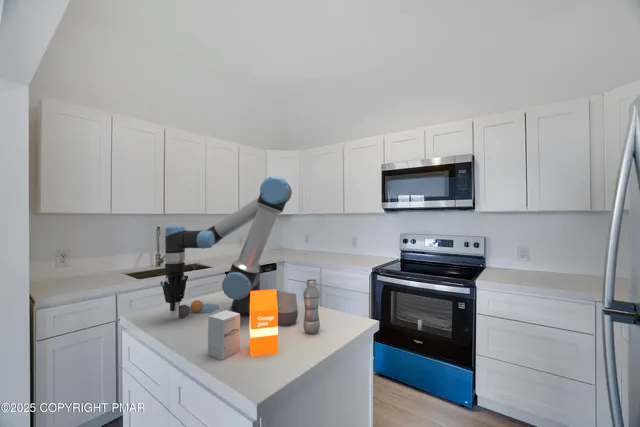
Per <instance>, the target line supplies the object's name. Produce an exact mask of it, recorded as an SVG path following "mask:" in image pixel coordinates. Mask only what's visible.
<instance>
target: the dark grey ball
mask: <svg viewBox="0 0 640 427" xmlns="http://www.w3.org/2000/svg"><path fill="white" fill-rule="evenodd" d="M189 314H191V313H190V306H189V305H188V304H181V305H180V308H179V317H178V318H183V319H184V318H186V317H187V316H189Z"/></svg>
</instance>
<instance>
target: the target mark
mask: <svg viewBox="0 0 640 427" xmlns="http://www.w3.org/2000/svg"><path fill="white" fill-rule="evenodd" d="M217 310H220V305H218V304H216V303H203V308H202V310H201V311H199V312H192V311H191V309H190V313H189V314H195V315H196V314H197V315H199V314H208V313H212V312H215V311H217Z"/></svg>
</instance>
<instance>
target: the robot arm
mask: <svg viewBox="0 0 640 427" xmlns="http://www.w3.org/2000/svg"><path fill="white" fill-rule="evenodd" d="M292 194H293V193H292V188H291V186H290V184H289V183H288V181H287V180H286V179H284V178H283V177H280V176H277V175H276V176H275V175H273V176H269V177H266V178H265V179H264V180H263V181H262V183H261V184H260V187H259V196H258V197H257V198H255V199H254V200H252V201H251V202H249V203H248V204H246V205H244V206H242V207H241V208H239V209H237V210H236V211H235V212H232V213H231V214H230V215H228V216H226V217H225V218H223V219H222V220H219V221H218V222H217V223H215V224H213V226H210V227H209V228H206V229H201V230H186V227H185V226H184V225H171V226H166V228H165V234H164V239H165V240H164V243H165V244H164V246H165V250H164V251H165V252H164V253H165V254H164V262H165V263H164V272H165V273H166V274H165V279H164V280H161V281H160V283H159V284H160V285H161V287H162V291H163V295H164V301H165V303H168V304H169V311H170V318H171V319H178V318H180V317H179V308H180V306H181V305H180V304H181V302H182V301H183V299H184V297H185V292H186V287H187V281H188V279H189V276H188V275H185V273H184V271H185V269H186V263H185V261H186V249H211V248H213V246H214V245H217V244H218V243H219V242H220V241H221V240H222V239H224V238H226V237H227V236H229V235H231V234H233V233H234V232H235V231H237V230H239V229H240V228H242V227H244V226H246V225H248V223H249V222H252V223H251V226H250V228H249V230H248V234H247V236H246V239H245V241H244V244H243V245H242V248H241V251H240V254H239V256H238V259H237V260H235V261H233V262H232V264H231V266H230V269H229V272H228V273H227V274H226V276H225V277H224V278H223V280H222V283H221V289H222V291H223V293H224V295H225V296H226V297H228V298H229V299H231V300H232V303H231V306H230V311H231V312H236V313H239V314H240V317H250V292H251V291H258V290H261V264H260V263H259V262H260V260H261V259H262V258H261V257H262V255H263V253H264V249H265V247H266V245H267V243H268V240H269V238H270V235H271V232H272V230H273V226H274V225H275V222H276V220H277V217H278V215H279V214H282V213H283V212H284V209H285V207H286V204H287V203H288V202H289V201H290V199H291V197H292Z"/></svg>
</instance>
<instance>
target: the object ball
mask: <svg viewBox="0 0 640 427" xmlns="http://www.w3.org/2000/svg"><path fill="white" fill-rule="evenodd" d="M203 304H204V303H203V302H202V301H201V300H198V299H197V300H193V301H192V302H191V303H190V305H189V308H190V309H191V311H192V312H199V311H201V310H202V308H203Z"/></svg>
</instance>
